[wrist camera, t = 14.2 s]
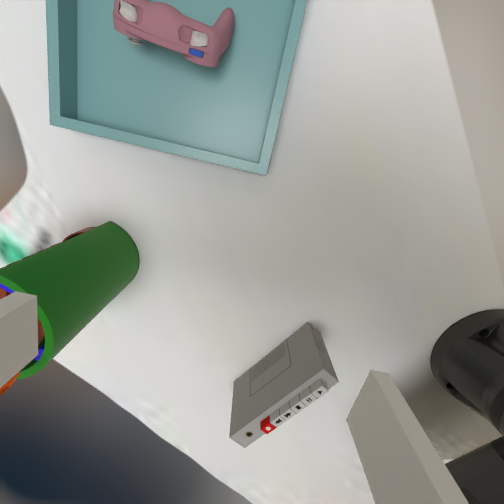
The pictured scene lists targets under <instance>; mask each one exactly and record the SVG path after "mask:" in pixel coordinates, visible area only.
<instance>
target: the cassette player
mask: <svg viewBox="0 0 504 504" xmlns="http://www.w3.org/2000/svg"><path fill="white" fill-rule="evenodd" d="M338 382H339V381H338V379H337V376H336V373H335V371H334V368H333V365H332V363H331V360H330V357H329V355H328V352H327V350H326V347H325V344H324V342H323V339H322V336H321V334H320V332H319V331H318V330H316V329H315V328H314V327H313V326H312V325H311V324H310V323H309V322H307V323H306V324H305V325H304V326H302V327H301V328H300V329H299V330H297V331H296V332H295V333H294V334H292V335H291V336H290V337H289V338H288V339H286V340H285V341H284V342H283V343H281V344H280V345H279V346H278V347H276V348H275V349H274V350H273V351H271V352H270V353H269V354H268V355H266V356H265V357H264V358H263V359H261V360H260V361H259V362H258V363H256V364H255V365H254V366H253V367H251V368H250V369H249V370H248V371H246V372H245V373H244V374H243V375H242V376H240V377H239V378H238V379H237V380H235V381H234V389H233V401H232V412H231V424H230V436H229V438H231V439H232V440H234V441H235V442H237V443H238V444H240V445H241V446H243V447H244V448H245V447H247V446H248V445H249V444H251V443H252V442H254V441H255V440H257V439H258V438H259V437H261V436H262V435H264V434H265V433H266V434H268V433H269V432H271V431H272V430H274V429H275V428H277V427H278V426H279V425H281V424H282V423H284V422H285V421H287V420H288V419H289V418H291V417H292V416H294V415H295V414H297V413H298V412H299V411H301V410H302V409H304V408H305V407H307V406H308V405H309V404H311V403H312V402H314V401H315V400H317V399H318V398H319V397H321V396H322V395H324V394H325V393H327V392H328V389H329V388H331V387H332V386H333V385H335V384H336V383H338Z"/></svg>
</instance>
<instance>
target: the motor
mask: <svg viewBox="0 0 504 504" xmlns="http://www.w3.org/2000/svg"><path fill="white" fill-rule="evenodd" d="M138 268H139V254H138V250H137V248H136V245H135V243H134V242H133V240H132V238H131V237H130V236H129V235H128V233H127V232H126V231H124V230H123V229H122V228H121V227H120V226H118V225H116V224H115V223H113V222H111V221H110V222H107V223H105V224H103V225H101V226H98V227H90V228H86V229H83V230H81V231H78V232H76V233H73V234H71V235H69V236H68V237H66V238H65V239H64V240H63V242H61V243H58V244H55V245H53V246H51V247H49V248H46V249H44V250H41V251H39V252H37V253H35V254H32V255H30V256H27V257H25V258H23V259H22V260H18V261H16V262H13V263H11V264H9V265H7V266H5V267H2V268H0V299H2V298H4V297H6V296H8V295H10V294H11V293H13V292H15V291H18V292H22V293H27V294H31V295H36V296H37V320H38V355H37V356H36V357H35V358H34V359H33V360H32V361H31V362H29V363H28V364H27V365H26V366H25V367H24V368H23V369H21V370H20V371H19V372H18V373H17V374H16V375H15V376H13V377H12V378H11V379H10V380H9V381H8V382H7V383H6V384H4V385H3V386H2V387H1V388H0V396H1V395H2V394H3V393H4V392H5V391H6V390H7V389H8V388H9V387H10V386H11V385H12V383H13V382H14V381H15V380H17V379H22V378H26V377H29V376H31V375H33V374H35V373H37V372H38V371H40V370H41V369H42V368H43V367H44V366H45V365H46V364H47V363H49V361H51V360H52V359H53V358H54V357H55V356H56V355H57V354H58V353H59V352H60V351H61V350H62V349H63V348H64V347H65V346H66V345H67V344H68V343H69V342H70V341H71V340H72V339H73V338H74V337H75V336H76V335H77V334H78V333H79V332H80V331H81V330H82V329H83V328H84V327H85V326H86V325H87V324H88V323H89V322H90V321H91V320H92V319H93V318H94V317H95V316H96V315H97V314H98V313H99V312H100V311H101V310H102V309H103V308H104V307H105V306H106V305H107V304H108V303H110V302H111V301H112V300H113V299H114V298H115V297H116V296H117V295H118V294H119V293H120V292H121V291H122V290H123V289H124V288H125V287H126V286H127V285H128V284H129V283H130V282H131V281H132V280H133V278H134V277H135V275H136V273H137V271H138Z"/></svg>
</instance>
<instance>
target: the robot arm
mask: <svg viewBox="0 0 504 504" xmlns="http://www.w3.org/2000/svg"><path fill="white" fill-rule="evenodd" d="M37 355H38V320H37V296H36V295H31V294H27V293H22V292H18V291H15V292H13V293H11V294H10V295H8V296H6V297H4V298H2V299H0V388H1V387H2V386H3V385H4V384H6V383H7V382H8V381H9V380H10V379H11V378H12V377H13V376H15V375H16V374H17V373H18V372H19V371H20V370H21V369H23V368H24V367H25V366H26V365H27V364H28V363H29V362H31V361H32V360H33V359H34V358H35V357H36V356H37ZM431 368H432V371H433V374H434V376H435V377H436V379H437V380H438V381H439V382H440V383H441V385H442V386H443V387H444V388H445V390H446V391H447V392H449V393H450V394H451V395H452V396H454V397H455V398H456V399H458V400H459V401H461V402H462V403H464V404H465V405H467V406H468V407H470V408H471V409H472V410H474V411H475V412H477V413H478V414H480V415H481V416H483V417H484V418H486V419H487V420H488V421H490V422H491V423H492V424H493V425H494V427H495V428H496V429H497V430H498V431H499V432H500V433H501V434H502V435H503V436H502V437H500V438H498V439H496V440H494V441H492V442H490V443H488V444H486V445H483V446H481V447H479V448H477V449H475V450H473V451H471V452H469V453H467V454H465V455H463V456H461V457H459V458H456V459H454V460H452V461H450V462H449V463H446V464H444V462H443V461H442V459H441V457H440V456H439V454H438V453H437V451H436V449H435V448H434V446H433V444H432V443H431V441H430V440H429V438H428V436H427V435H426V433H425V431H424V430H423V428H422V427H421V425H420V423H419V422H418V420H417V418H416V417H415V415H414V414H413V412H412V410H411V409H410V407H409V405H408V404H407V402H406V401H405V399H404V397H403V396H402V394H401V392H400V391H399V389H398V388H397V386H396V384H395V383H394V381H393V379H392V378H391V376H390V375H389V374H388V373H383V372H379V371H374V370H371V371H370V373H369V375H368V377H367V379H366V381H365V383H364V385H363V387H362V389H361V391H360V393H359V395H358V397H357V399H356V401H355V403H354V405H353V407H352V409H351V411H350V413H349V415H348V417H347V422H348V425H349V428H350V431H351V434H352V436H353V439H354V442H355V445H356V448H357V451H358V454H359V457H360V460H361V463H362V466H363V469H364V472H365V474H366V477H367V480H368V483H369V486H370V489H371V492H372V495H373V498H374V501H375V504H504V310H491V311H485V312H481V313H477V314H474V315H471V316H469V317H467V318H465V319H463V320H461V321H459V322H458V323H456V324H455V325H453V326H452V327H451V328H450V329H448V330H447V331H446V332H445V333H444V334H443V335H442V337H441V338H440V339H439V341H438V342H437V344H436V346H435V347H434V350H433V353H432V356H431Z"/></svg>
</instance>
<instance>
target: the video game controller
mask: <svg viewBox="0 0 504 504" xmlns="http://www.w3.org/2000/svg"><path fill="white" fill-rule="evenodd" d="M234 22H235V18H234V12H233V10H232V9H231V8H230V7H228V8H226V9H225V10H223V11H222V13H221V15H220V16H219V18H218V20H217V21H216V22H215V23H214V25H213V26H208V25H206V24H204V23H202V22H200V21H197V20H195V19H192V18H189V17H187V16H185V15H183V14H182V13H181V12H180V11H178V10H177V9H176V8H174V7H173V6H171V5H169V4H167V3H162V2H150V1H147V0H115V2H114V11H113V23H114V29H115V30H117V31H118V32H119V33H121V34H123V35H125V36H128V37H131V38H128V40H129V42H131V43H132V44H133V45H136V46H139V45H142V44H143V42H142V41H140V40H144V41H149V42H152V43H154V44H156V45H159V46H162V47H164V48H167V49H170V50H172V51H176V52H179V53H181V54H182V56H183V57H185V58H186V59H188V60H189V61H191V62H193V63H196V64H199V65H202V66H207V67H217V66H219V62H220V58H221V57H222V56H223V54H224V53H225V51H226V49H227V47H228V45H229V43H230V40H231V37H232V34H233V30H234Z"/></svg>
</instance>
